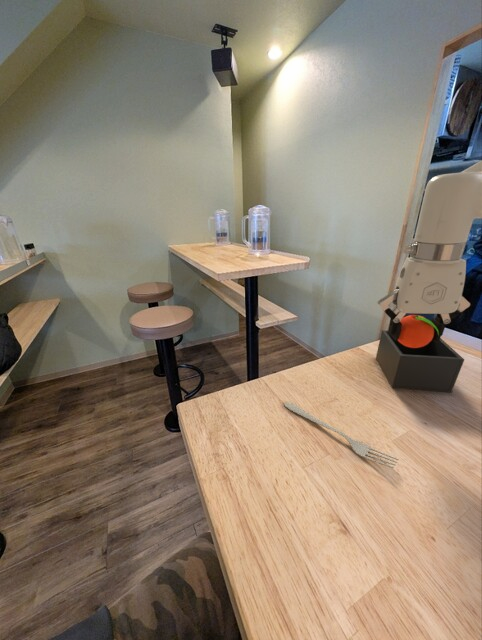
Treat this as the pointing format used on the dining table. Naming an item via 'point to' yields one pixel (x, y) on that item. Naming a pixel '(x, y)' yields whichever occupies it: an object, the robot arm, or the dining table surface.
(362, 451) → the fork
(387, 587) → the dining table surface
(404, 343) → the clementine
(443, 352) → the bin
